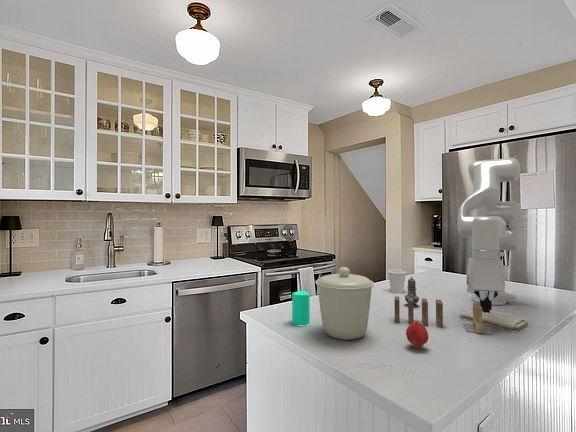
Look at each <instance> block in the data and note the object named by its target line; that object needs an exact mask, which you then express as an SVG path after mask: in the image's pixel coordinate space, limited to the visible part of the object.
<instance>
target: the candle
mask: <svg viewBox="0 0 576 432" xmlns="http://www.w3.org/2000/svg"><path fill="white" fill-rule="evenodd" d="M291 297H292V298H291V302H292V303H291V304H292V306H291V310H292V311H291V312H292V313H291V314H292V315H291V317H292V318H291V319H292V321H291V322H292V325H293V324H295V325H294V326H296V325H306V326H308V325H307V324H309V325H310V323H311V316H310V315H311V313H310V311H311V310H310V293H309V292H308V291H305V290H303V291H302V290H299V291H295V292H292V293H291Z"/></svg>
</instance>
